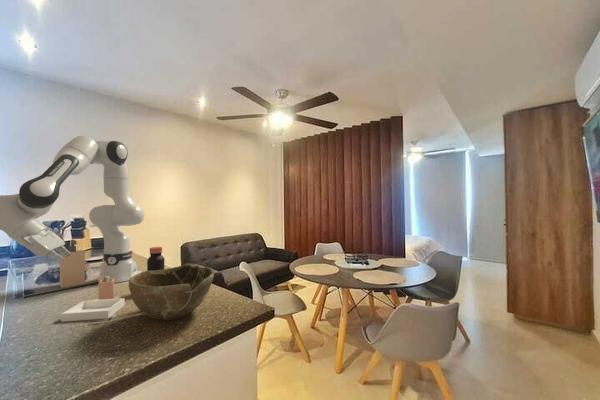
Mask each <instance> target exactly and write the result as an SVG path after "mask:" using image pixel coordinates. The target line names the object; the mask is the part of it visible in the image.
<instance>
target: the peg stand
mask: <svg viewBox="0 0 600 400" xmlns="http://www.w3.org/2000/svg"><path fill="white" fill-rule="evenodd" d="M104 282H109V276H106V277H104ZM121 298H122V295H114V299H121ZM94 300H99V298H95V299H94Z"/></svg>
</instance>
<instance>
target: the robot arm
mask: <svg viewBox="0 0 600 400" xmlns="http://www.w3.org/2000/svg"><path fill="white" fill-rule="evenodd" d="M128 154H129V153H128V147H126V146H125V144H124V143H123V142H121V141H117V140H97V141H96V140H94V139H93V138H91V137H89V136H87V135H78V136H76V137H74V138H72V139H71V140H70V141H69V142H66V144H64V145H63V146H62V147H61V149H60V150H59V151H58V152H57V153H56V155H55V156H54V158H53V161H52V164H51V165H49V167H48V168H47V169H46V170H45V171H44V172H43V173H42V174H40V175H39V176H36V177H34V178H32V179H29V180H27V181H26V182H23V183H22V184H21V186H20V187H19V191H18V192H19V193H16V194H7V195H3V194H2V195H1V194H0V231H2V232H4V233H5V234H6V235H7V237H9V238H10V239H12V241H15V242H16V243H18V245H19V244H20V246H22V247H23V246H24V247H25V248H26V249H27V250H28V251H30V252H31V253H33V254H34V255H35V256H37V257H38V258H43V257H45V256H47V257H48V258H50V259H53V260H55V261H56V262H59V263H60V262H61V261H62V260H63V259H64V257H63V256H65V257H66V258H67V257H69V256H70V255H71V253H70V252H68V251H69V250H68V249H67V248H66V247H65V245H66V242H65V241H64V240H63V238H61V237H59V236H58V235H57V234H56V233H55V232H54V231H53V230H52V229H51V227H50V226H48V225H46V224H43V222H41V221H39V220H38V218H40V217H42V216H44V215H46V214H48V213H49V211H50V210H51V208H52V207H53V205H54V203H55V202H56V201H57V200H58V198H59V196H60V189H61V186H62V185H63V183H64V182H65V181H66V180H67V179H68V178H69V176H71V175H72V176H75V175H80V174H81V173H82V172H83V171H85V170H86V169H87V167H89V166H90V164H91V165H93V164H97V165H102V167H103V175H102V176H103V193H104V195H105V196H107V197H109V198H110V199H112V200H113V202H114V204H103V205H97V206H93V208H92V209H90V210H89V213H88V214H89V216H88V217H89V220H90V223H92V224H93V225H95V227H97V229H99V231H100V232H101V235H102V237H103V245H104V246H103V247H104V250H103V251H104V253H103V255H102V260H103V262H101V264H100V270H99V277H97V278H96V282H100V280H104V277H106V276H109V279H114V284H115V283H116V284H117V283H122V282H123V283H124V282H126V281H129V280H130V278H131V277H132V276H134V275H137V274H139V273H141V272H143V271H142V270H140V269H138V263H137V262H136V261H135V259H133V258H132V255H133V254H134V251H133V250H131V238H130V236H129V235H128V234H127V233H125V232H123V231H122V229H121V227H127V226H128V227H130V226H135V225H139V224H141V223H142V222H143V221H144V218H145V211H144V209H143V208H142V207H141V206H140V205H138V203H136V202H135V200H134V199H133V198H132V195H131V190H130V174H129V173H130V172H129V168H128V164H127V158H128V156H129V155H128ZM56 251H57V252H58V253H57V252H56ZM60 253H61V254H63V256H62V255H60Z"/></svg>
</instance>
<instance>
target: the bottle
mask: <svg viewBox="0 0 600 400" xmlns="http://www.w3.org/2000/svg"><path fill="white" fill-rule="evenodd" d="M162 253H163V247H162V246H152V247H150V248H149V257H148V258H147V263H146V264H147V265H146V271H150V270H152V271H155V270H165V257H164V256H163V255H162Z"/></svg>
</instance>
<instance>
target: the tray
mask: <svg viewBox="0 0 600 400" xmlns="http://www.w3.org/2000/svg"><path fill="white" fill-rule="evenodd" d="M125 303H126V302H125V298H122V297H121V298H120V299H105V300H95V299H93V300H92V299H91V300H82V301H81V302H79V303H77V304H75V305H74V306H72V307H70V308H69V309H67V310H65V311H63V312H61V313H60V322H63V323H65V322H75V321H76V322H77V321H87V322H83V324H87V323H88V324H89V323H101V322H109V321H110V320H112V317H111V316H113V315H114V314H116V312H118V311H119V310H121V308H123V307H124V306H125ZM89 320H90V321H89ZM91 320H92V321H91Z"/></svg>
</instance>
